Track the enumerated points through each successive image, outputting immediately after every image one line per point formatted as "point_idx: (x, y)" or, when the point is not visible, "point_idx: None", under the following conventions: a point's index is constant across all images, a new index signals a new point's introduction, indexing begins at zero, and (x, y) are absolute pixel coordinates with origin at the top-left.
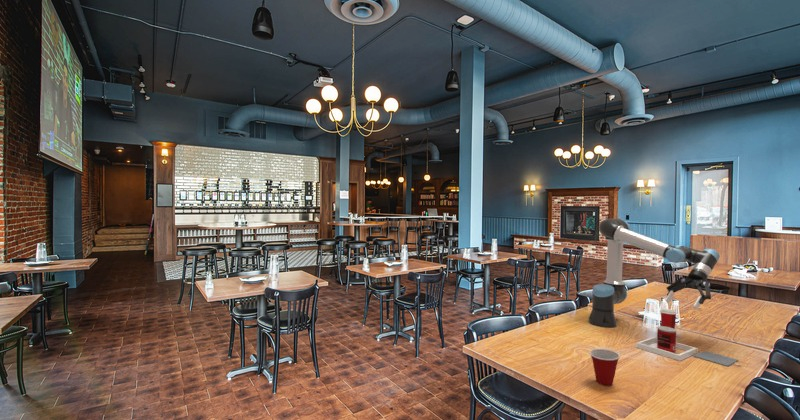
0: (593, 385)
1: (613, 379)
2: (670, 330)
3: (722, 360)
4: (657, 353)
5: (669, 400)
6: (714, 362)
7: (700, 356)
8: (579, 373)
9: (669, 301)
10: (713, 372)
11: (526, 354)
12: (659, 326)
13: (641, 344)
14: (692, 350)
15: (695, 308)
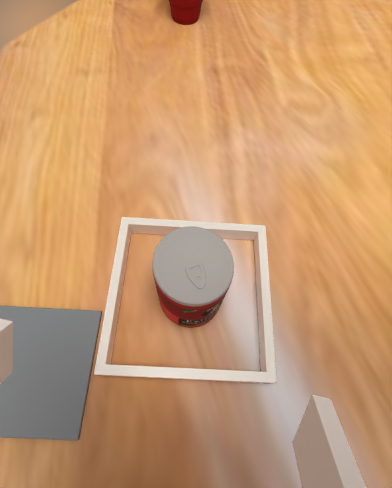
0: None
1: (170, 6)
2: (174, 259)
3: None
4: None
5: (85, 29)
6: (33, 308)
7: (79, 326)
8: (230, 18)
9: (300, 459)
10: (31, 212)
11: (340, 20)
12: (231, 269)
13: (247, 224)
14: (103, 321)
15: (8, 357)
